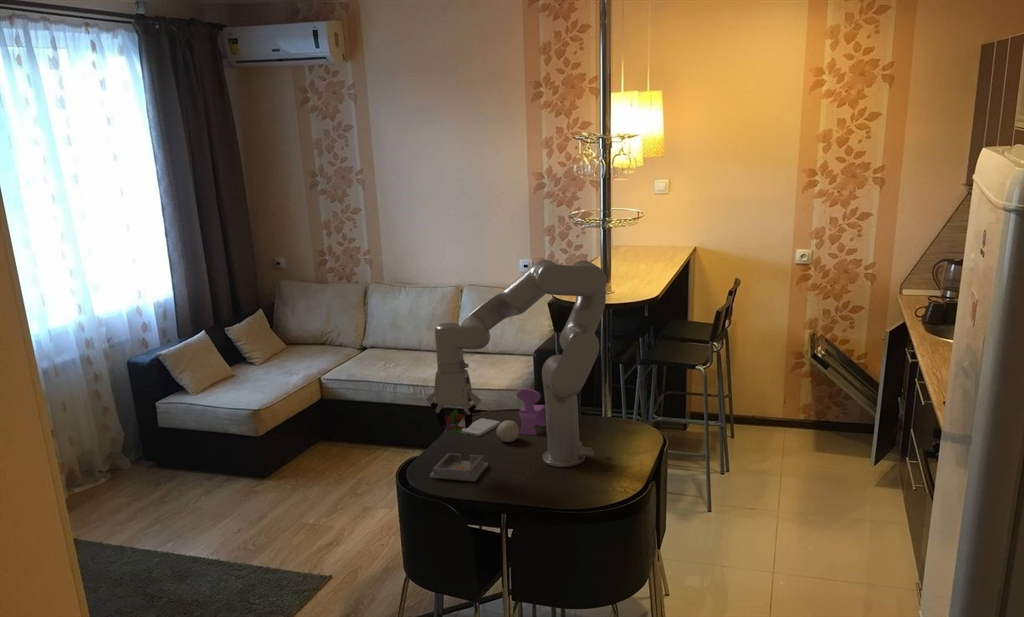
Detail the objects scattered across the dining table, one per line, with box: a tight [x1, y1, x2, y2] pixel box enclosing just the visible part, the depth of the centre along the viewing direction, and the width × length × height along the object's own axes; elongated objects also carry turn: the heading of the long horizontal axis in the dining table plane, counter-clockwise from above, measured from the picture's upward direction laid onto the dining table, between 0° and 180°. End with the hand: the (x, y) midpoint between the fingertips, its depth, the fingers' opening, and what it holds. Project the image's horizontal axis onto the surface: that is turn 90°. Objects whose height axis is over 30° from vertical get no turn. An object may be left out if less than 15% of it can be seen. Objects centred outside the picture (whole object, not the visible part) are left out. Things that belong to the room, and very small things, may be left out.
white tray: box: [429, 452, 489, 482], centre depth 228 cm, size 14×12×3 cm
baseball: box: [496, 419, 520, 443], centre depth 249 cm, size 7×7×7 cm
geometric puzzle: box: [443, 408, 467, 437], centre depth 225 cm, size 7×7×8 cm
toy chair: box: [516, 387, 546, 436], centre depth 257 cm, size 8×9×15 cm
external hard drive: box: [458, 417, 501, 437], centre depth 262 cm, size 2×8×12 cm
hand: (455, 425), depth 226 cm, fingers closed on geometric puzzle, 7 cm apart
